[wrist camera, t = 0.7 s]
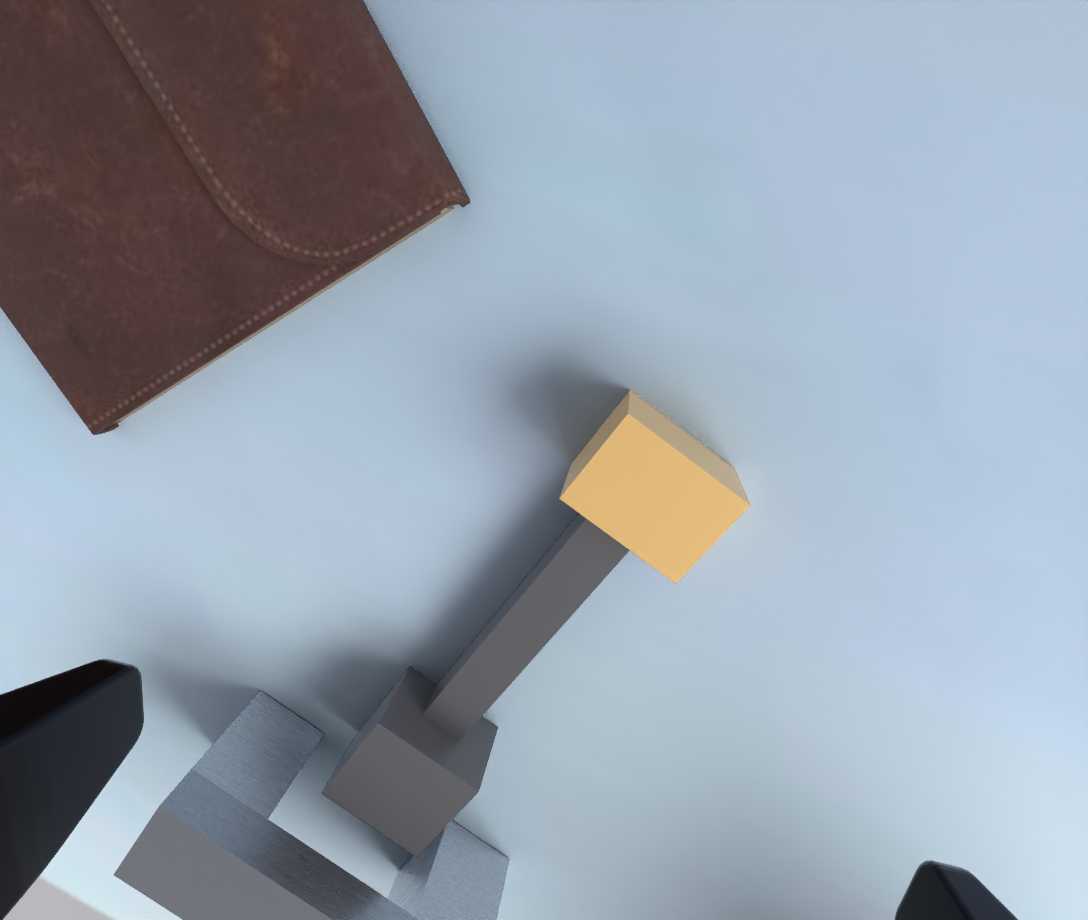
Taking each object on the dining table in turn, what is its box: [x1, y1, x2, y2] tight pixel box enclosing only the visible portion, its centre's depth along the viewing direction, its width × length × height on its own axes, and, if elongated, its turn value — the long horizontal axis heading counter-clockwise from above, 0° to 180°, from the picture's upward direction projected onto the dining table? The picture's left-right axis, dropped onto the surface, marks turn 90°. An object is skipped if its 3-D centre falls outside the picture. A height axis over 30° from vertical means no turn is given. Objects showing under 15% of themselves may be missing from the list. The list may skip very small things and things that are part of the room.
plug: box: [321, 390, 750, 857], centre depth 21 cm, size 4×17×3 cm, turn 144°
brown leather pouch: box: [0, 0, 470, 435], centre depth 18 cm, size 15×20×2 cm
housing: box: [114, 691, 509, 920], centre depth 23 cm, size 12×4×6 cm, turn 54°
